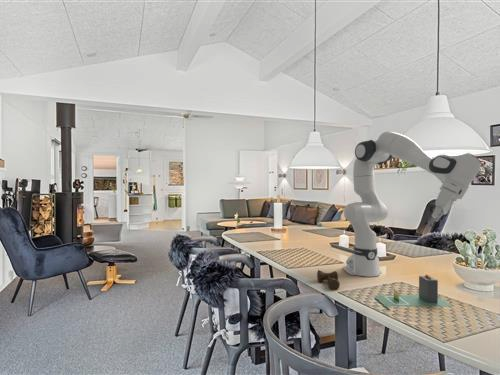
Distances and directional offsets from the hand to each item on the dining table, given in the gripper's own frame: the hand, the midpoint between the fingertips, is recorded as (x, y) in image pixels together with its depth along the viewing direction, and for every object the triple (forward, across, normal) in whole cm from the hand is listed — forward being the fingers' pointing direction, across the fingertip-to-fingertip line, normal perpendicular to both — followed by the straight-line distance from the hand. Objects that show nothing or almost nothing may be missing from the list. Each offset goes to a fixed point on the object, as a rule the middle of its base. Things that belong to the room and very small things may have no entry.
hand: (434, 219), depth 142 cm
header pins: (+36, +4, +5) cm, 37 cm away
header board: (+34, 0, +10) cm, 36 cm away
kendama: (+50, -9, -25) cm, 57 cm away
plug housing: (+30, -3, +14) cm, 33 cm away
